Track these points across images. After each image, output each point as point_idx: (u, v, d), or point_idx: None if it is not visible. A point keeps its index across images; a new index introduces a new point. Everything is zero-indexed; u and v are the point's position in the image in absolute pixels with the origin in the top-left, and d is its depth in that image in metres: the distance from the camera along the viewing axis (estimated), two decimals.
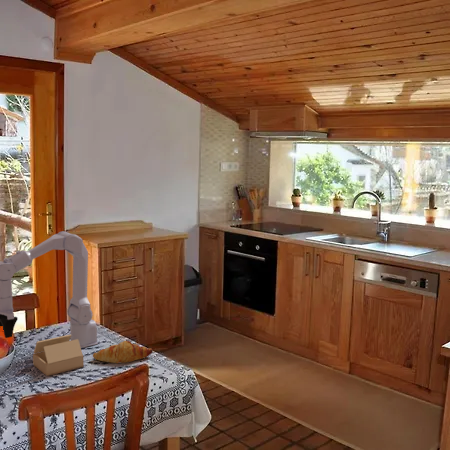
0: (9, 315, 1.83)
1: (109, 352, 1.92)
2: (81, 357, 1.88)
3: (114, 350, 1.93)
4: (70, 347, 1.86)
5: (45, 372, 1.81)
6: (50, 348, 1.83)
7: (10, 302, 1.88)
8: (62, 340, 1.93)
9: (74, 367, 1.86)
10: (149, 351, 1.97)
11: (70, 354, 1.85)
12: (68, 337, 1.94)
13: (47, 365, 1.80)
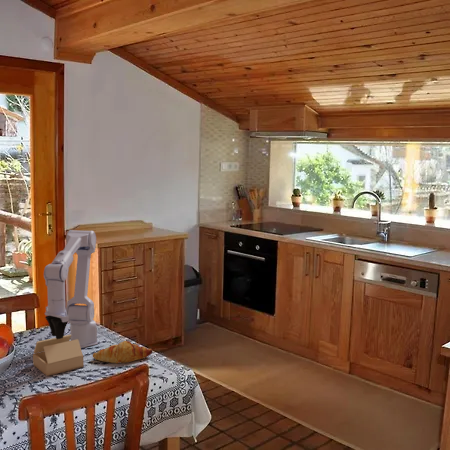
0: (64, 318, 1.80)
1: (109, 352, 1.92)
2: (81, 357, 1.88)
3: (114, 350, 1.93)
4: (70, 347, 1.86)
5: (45, 372, 1.81)
6: (50, 348, 1.83)
7: (63, 304, 1.85)
8: (62, 340, 1.93)
9: (74, 367, 1.86)
10: (149, 351, 1.97)
11: (70, 354, 1.85)
12: (68, 337, 1.94)
13: (47, 365, 1.80)
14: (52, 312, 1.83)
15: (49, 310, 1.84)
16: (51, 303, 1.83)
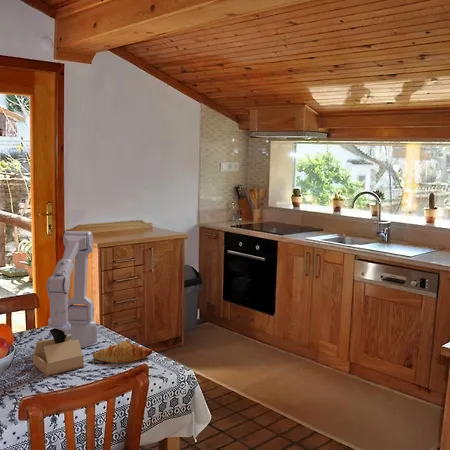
0: (66, 330, 1.80)
1: (108, 352, 1.92)
2: (81, 357, 1.88)
3: (114, 350, 1.93)
4: (70, 347, 1.86)
5: (45, 372, 1.81)
6: (50, 348, 1.83)
7: (66, 317, 1.84)
8: None
9: (74, 367, 1.86)
10: (149, 351, 1.96)
11: (70, 354, 1.85)
12: (68, 337, 1.94)
13: (47, 365, 1.80)
14: (54, 324, 1.83)
15: (51, 322, 1.83)
16: (53, 315, 1.82)
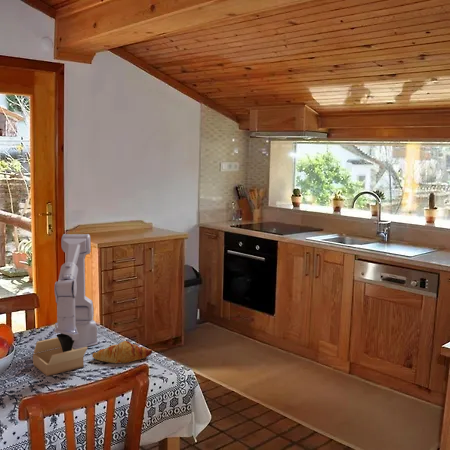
0: (74, 335, 1.75)
1: (108, 352, 1.92)
2: None
3: (114, 351, 1.93)
4: (76, 353, 1.83)
5: (45, 372, 1.81)
6: (58, 356, 1.78)
7: (74, 321, 1.80)
8: None
9: (74, 367, 1.86)
10: (148, 352, 1.96)
11: (72, 358, 1.84)
12: None
13: (47, 365, 1.80)
14: (62, 329, 1.78)
15: (59, 327, 1.79)
16: (61, 320, 1.78)
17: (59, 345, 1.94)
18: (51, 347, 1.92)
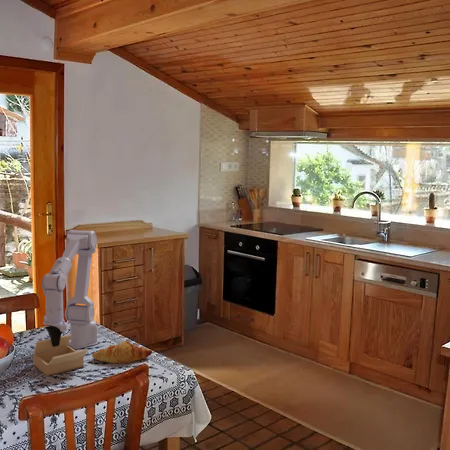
0: (62, 327, 1.83)
1: (108, 352, 1.92)
2: None
3: (113, 351, 1.93)
4: (76, 355, 1.83)
5: (45, 372, 1.81)
6: (58, 358, 1.78)
7: (61, 314, 1.87)
8: (62, 340, 1.93)
9: (74, 367, 1.86)
10: (148, 352, 1.96)
11: (72, 358, 1.84)
12: (68, 337, 1.94)
13: (47, 365, 1.80)
14: (50, 321, 1.86)
15: (47, 319, 1.86)
16: (49, 312, 1.85)
17: (59, 345, 1.94)
18: (51, 347, 1.92)
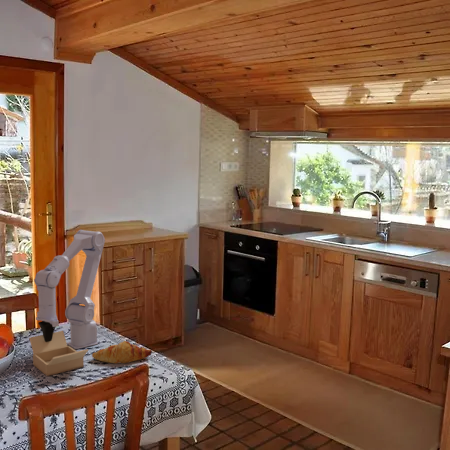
0: (54, 322, 1.87)
1: (108, 352, 1.92)
2: None
3: (113, 351, 1.93)
4: (76, 355, 1.83)
5: (45, 372, 1.81)
6: (58, 358, 1.78)
7: (54, 310, 1.92)
8: (56, 337, 1.97)
9: (74, 367, 1.86)
10: (148, 352, 1.96)
11: (72, 358, 1.84)
12: (61, 333, 1.98)
13: (47, 365, 1.80)
14: (43, 317, 1.90)
15: (40, 315, 1.90)
16: (42, 308, 1.90)
17: (57, 344, 1.95)
18: (48, 345, 1.93)
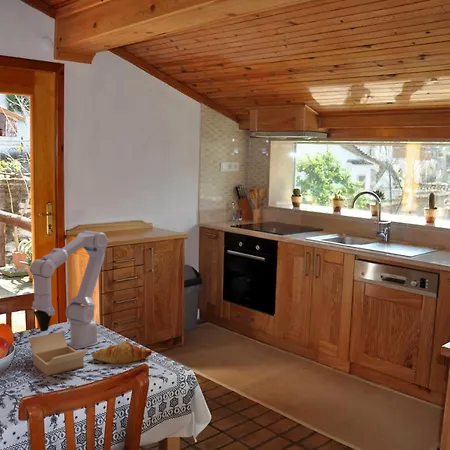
0: (50, 311, 1.87)
1: (107, 352, 1.92)
2: None
3: (113, 351, 1.93)
4: (76, 355, 1.83)
5: (45, 372, 1.81)
6: (58, 358, 1.78)
7: (50, 299, 1.92)
8: (56, 337, 1.97)
9: (74, 367, 1.86)
10: (148, 352, 1.96)
11: (72, 358, 1.84)
12: (61, 334, 1.99)
13: (47, 365, 1.80)
14: (39, 306, 1.90)
15: (36, 304, 1.90)
16: (37, 297, 1.90)
17: (57, 344, 1.95)
18: (48, 346, 1.93)
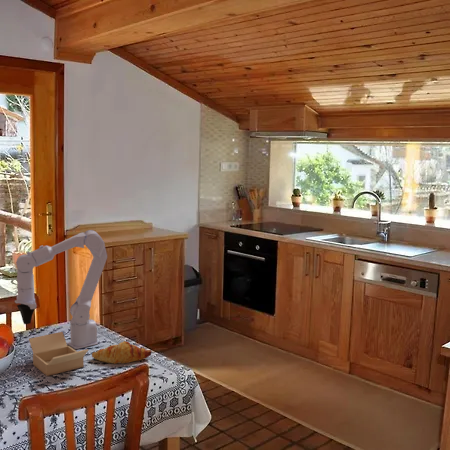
0: (32, 305, 1.94)
1: (107, 352, 1.92)
2: None
3: (112, 351, 1.93)
4: (76, 355, 1.83)
5: (45, 372, 1.81)
6: (58, 358, 1.78)
7: (32, 293, 1.99)
8: (56, 337, 1.97)
9: (74, 367, 1.86)
10: (148, 353, 1.95)
11: (72, 358, 1.84)
12: (60, 334, 1.99)
13: (47, 365, 1.80)
14: (21, 300, 1.97)
15: (19, 298, 1.98)
16: (20, 291, 1.97)
17: (57, 344, 1.95)
18: (48, 346, 1.93)
